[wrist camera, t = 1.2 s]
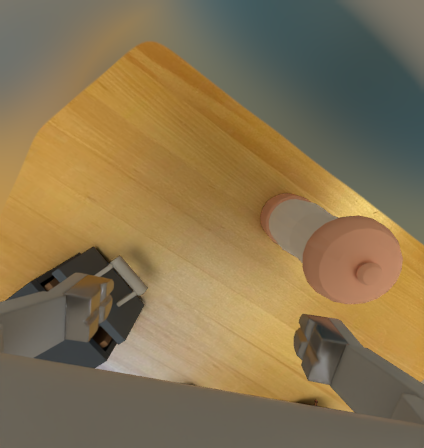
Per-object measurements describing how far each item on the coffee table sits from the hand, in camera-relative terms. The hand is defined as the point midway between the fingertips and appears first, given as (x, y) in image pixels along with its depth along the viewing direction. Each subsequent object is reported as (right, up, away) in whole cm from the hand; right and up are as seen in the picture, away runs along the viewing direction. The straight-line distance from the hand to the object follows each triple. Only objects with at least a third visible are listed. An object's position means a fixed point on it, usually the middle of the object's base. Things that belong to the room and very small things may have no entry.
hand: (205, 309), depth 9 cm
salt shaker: (+11, +5, +24) cm, 27 cm away
